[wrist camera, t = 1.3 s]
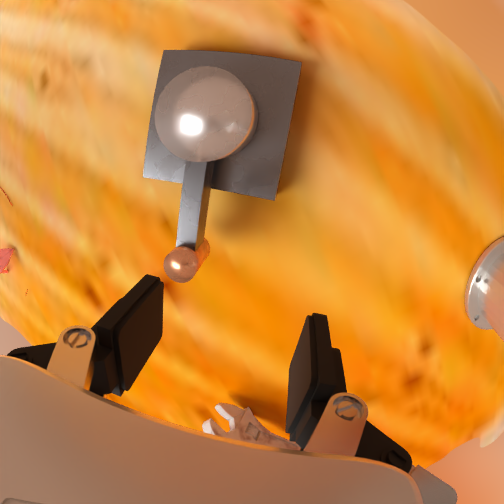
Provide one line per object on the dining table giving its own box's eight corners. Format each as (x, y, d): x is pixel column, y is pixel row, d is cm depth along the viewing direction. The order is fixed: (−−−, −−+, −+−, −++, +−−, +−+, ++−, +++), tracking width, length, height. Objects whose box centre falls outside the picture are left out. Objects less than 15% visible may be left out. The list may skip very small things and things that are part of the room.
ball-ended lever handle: (182, 75, 21) (161, 63, 17) (265, 83, 21) (259, 70, 16) (159, 252, 27) (138, 272, 23) (231, 269, 27) (220, 292, 22)
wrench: (336, 451, 45) (207, 392, 37) (344, 447, 44) (215, 387, 36) (341, 486, 37) (198, 440, 30) (349, 482, 37) (207, 436, 29)
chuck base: (300, 70, 23) (301, 62, 20) (276, 194, 27) (274, 200, 24) (175, 57, 23) (163, 50, 20) (156, 173, 28) (142, 177, 25)
